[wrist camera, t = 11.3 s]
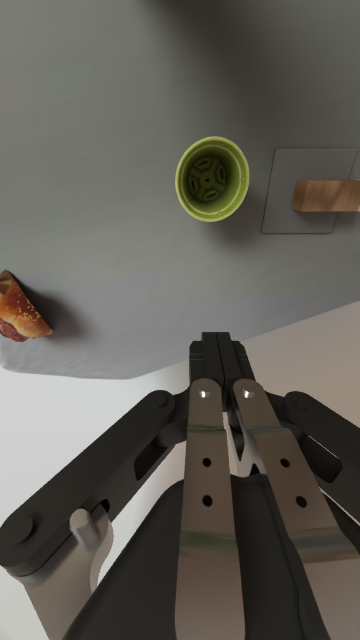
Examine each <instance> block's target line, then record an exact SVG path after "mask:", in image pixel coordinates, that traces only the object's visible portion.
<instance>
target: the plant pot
mask: <svg viewBox="0 0 360 640" xmlns="http://www.w3.org/2000/svg"><path fill="white" fill-rule="evenodd" d="M203 161H207V163H206V164H203V165H201V166H199V164H200V163H202V162H203ZM220 169H221V170H222V172H223V179H221V173H220ZM207 178H209V181H208V182H206V179H207ZM192 181H193V183H194V187H195V190H193V188H192V184H191V182H192ZM175 185H176V192H177V196H178V198H179V201H180V203H181V205H182V206H183V208H184V209H185V210H186V211H187V212H188V213H189V214H190V215H191V216H193V217H194V218H196V219H198V220H201V221H205V222H215V221H219V220H222V219H225V218H227V217H228V216H230V215H231V214H232V213H233V212H235V211H236V210H237V208H238V207H239V206H240V205H241V203H242V201H243V200H244V198H245V196H246V193H247V190H248V186H249V167H248V163H247V160H246V158H245V156H244V154H243V152H242V151H241V150H240V148H239V147H238V146H237V145H236V144H234V143H233V142H232V141H230V140H228V139H225V138H222V137H208V138H204V139H202V140H199V141H197V142H196V143H194V144H193V145H192V146H191V147H190V148H189V149H188V150H187V151H186V152H185V153H184V155H183V156H182V158H181V160H180V162H179V165H178V167H177V171H176V177H175ZM214 193H215V196H213V197H210V198H208V197H207V196H209V195H212V194H214Z"/></svg>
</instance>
